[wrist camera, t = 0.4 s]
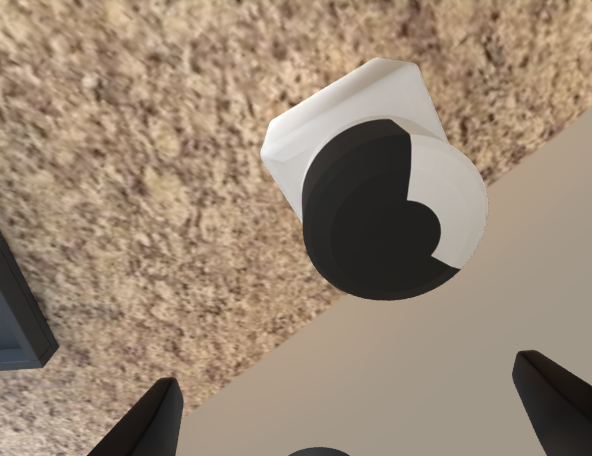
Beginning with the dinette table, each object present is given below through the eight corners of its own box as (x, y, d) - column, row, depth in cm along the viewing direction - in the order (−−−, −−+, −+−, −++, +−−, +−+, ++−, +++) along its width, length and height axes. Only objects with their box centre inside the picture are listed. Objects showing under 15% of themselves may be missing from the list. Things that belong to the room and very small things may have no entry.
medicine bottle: (325, 217, 24) (348, 354, 14) (267, 121, 22) (240, 198, 11) (426, 164, 23) (544, 272, 12) (378, 54, 20) (476, 65, 9)
